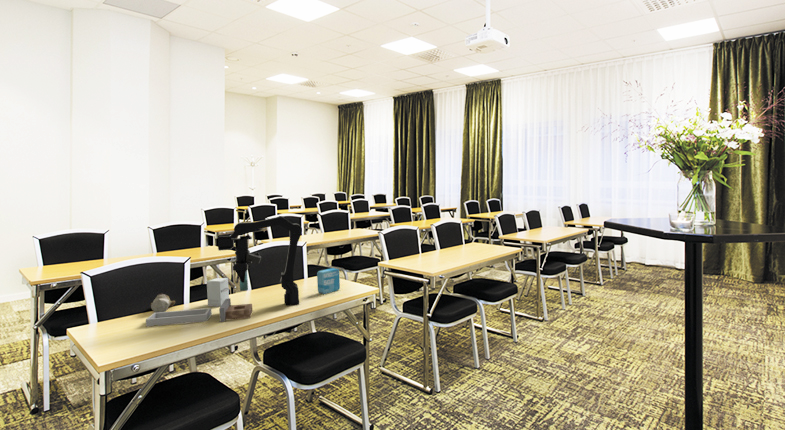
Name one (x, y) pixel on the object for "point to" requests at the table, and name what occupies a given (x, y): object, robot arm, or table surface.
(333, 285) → the data package
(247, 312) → the pocket block
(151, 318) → the rectangular open frame
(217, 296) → the supplement box
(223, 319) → the backstop wall
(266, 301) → the table surface
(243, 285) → the dowel
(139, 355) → the table surface
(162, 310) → the ceramic sculpture
